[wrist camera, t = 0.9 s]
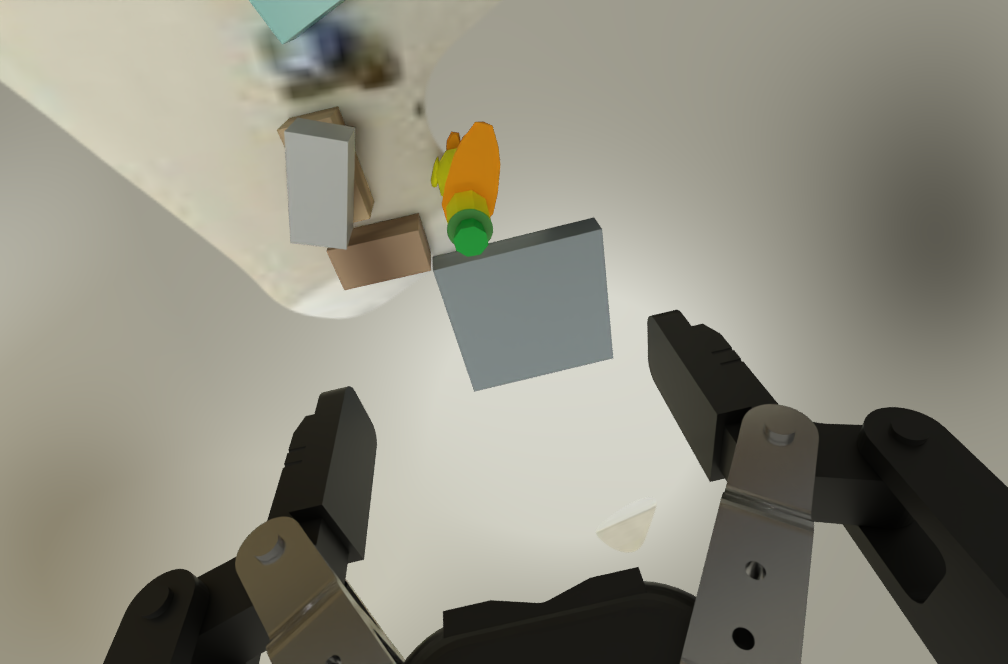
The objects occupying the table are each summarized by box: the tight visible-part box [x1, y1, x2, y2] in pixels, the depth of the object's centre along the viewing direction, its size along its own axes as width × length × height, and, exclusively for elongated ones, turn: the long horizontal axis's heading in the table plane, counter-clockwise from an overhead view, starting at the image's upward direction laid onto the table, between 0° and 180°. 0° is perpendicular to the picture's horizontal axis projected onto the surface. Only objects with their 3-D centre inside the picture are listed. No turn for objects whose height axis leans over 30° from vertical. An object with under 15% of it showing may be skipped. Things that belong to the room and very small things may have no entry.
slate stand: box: [433, 218, 613, 391], centre depth 37 cm, size 12×12×2 cm
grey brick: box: [284, 118, 355, 250], centre depth 27 cm, size 6×3×3 cm, turn 168°
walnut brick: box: [327, 213, 431, 290], centre depth 33 cm, size 6×3×3 cm, turn 100°
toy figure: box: [431, 122, 500, 257], centre depth 26 cm, size 7×4×12 cm, turn 167°
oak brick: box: [277, 107, 374, 223], centre depth 29 cm, size 6×3×3 cm, turn 11°
